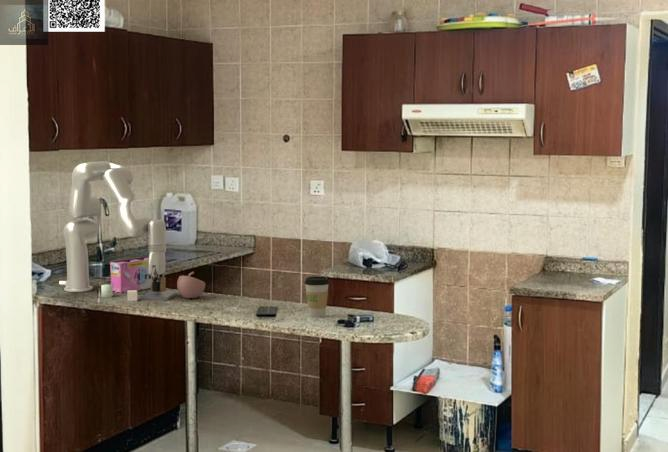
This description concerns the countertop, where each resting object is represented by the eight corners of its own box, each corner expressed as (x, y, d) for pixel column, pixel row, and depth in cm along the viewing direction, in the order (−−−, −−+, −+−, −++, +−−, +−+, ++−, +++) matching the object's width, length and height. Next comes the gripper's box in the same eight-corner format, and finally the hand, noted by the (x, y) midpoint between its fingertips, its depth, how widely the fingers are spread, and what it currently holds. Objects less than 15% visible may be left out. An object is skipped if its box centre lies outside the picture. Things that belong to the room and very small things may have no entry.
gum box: (153, 284, 462) (152, 255, 460) (163, 286, 456) (163, 257, 455) (110, 291, 444) (109, 261, 442) (121, 293, 439) (120, 263, 437)
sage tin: (99, 297, 429) (99, 286, 429) (103, 295, 434) (103, 284, 433) (110, 297, 428) (110, 286, 428) (114, 295, 433) (114, 284, 433)
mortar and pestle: (210, 297, 428) (210, 271, 427) (194, 301, 418) (193, 275, 416) (188, 294, 434) (187, 269, 433) (171, 299, 423) (171, 273, 422)
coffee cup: (304, 313, 391) (303, 276, 390) (328, 313, 392) (328, 276, 390) (305, 318, 382) (305, 280, 380) (330, 318, 382) (330, 280, 381)
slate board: (139, 299, 423) (139, 297, 423) (150, 293, 437) (150, 291, 436) (167, 300, 421) (166, 297, 421) (176, 294, 435) (176, 291, 435)
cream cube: (127, 301, 420) (127, 292, 419) (127, 299, 424) (127, 290, 423) (137, 300, 421) (137, 291, 420) (137, 299, 425) (136, 290, 424)
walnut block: (151, 292, 427) (150, 278, 426) (154, 290, 431) (154, 276, 431) (162, 292, 426) (161, 278, 425) (165, 290, 431) (165, 276, 430)
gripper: (155, 245, 435) (156, 286, 437) (142, 251, 419) (143, 293, 421) (171, 245, 434) (172, 286, 436) (159, 251, 418) (160, 293, 420)
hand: (158, 289), depth 429 cm, fingers closed on walnut block, 5 cm apart
